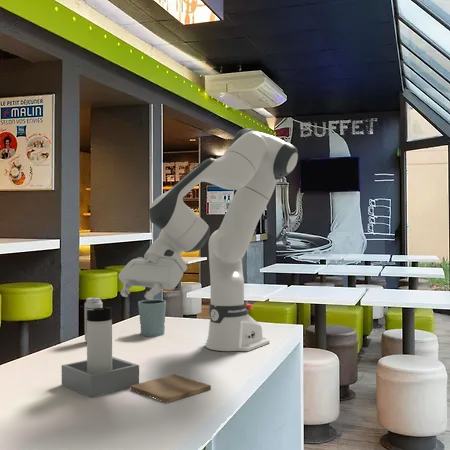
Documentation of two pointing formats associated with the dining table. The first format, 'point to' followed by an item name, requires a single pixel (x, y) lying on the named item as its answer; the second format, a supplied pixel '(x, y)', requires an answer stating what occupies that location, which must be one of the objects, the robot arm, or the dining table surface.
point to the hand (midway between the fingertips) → (135, 296)
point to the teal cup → (152, 317)
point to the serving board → (170, 388)
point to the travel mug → (99, 340)
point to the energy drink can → (91, 305)
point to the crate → (100, 377)
